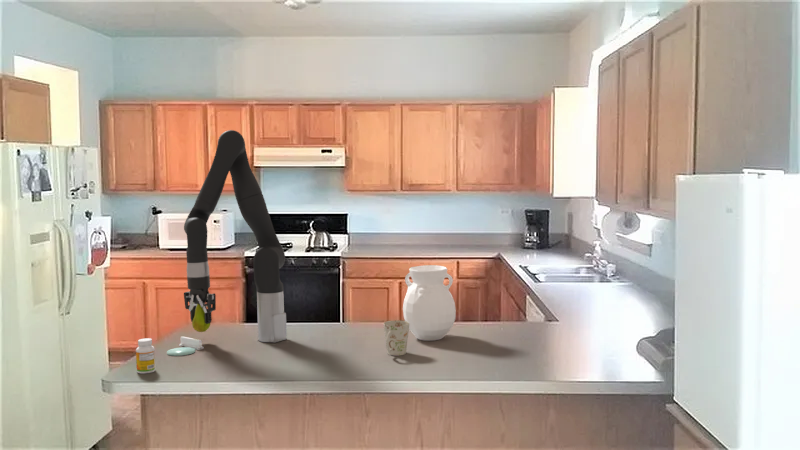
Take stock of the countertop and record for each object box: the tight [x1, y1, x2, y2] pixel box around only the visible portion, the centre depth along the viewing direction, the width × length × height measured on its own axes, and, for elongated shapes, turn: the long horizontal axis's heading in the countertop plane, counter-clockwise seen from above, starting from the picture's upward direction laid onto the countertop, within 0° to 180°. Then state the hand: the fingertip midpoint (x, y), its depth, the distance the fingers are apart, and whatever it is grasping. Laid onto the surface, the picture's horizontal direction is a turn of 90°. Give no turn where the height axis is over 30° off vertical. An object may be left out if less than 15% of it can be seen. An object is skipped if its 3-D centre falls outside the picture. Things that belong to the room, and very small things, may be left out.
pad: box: [166, 346, 196, 357], centre depth 250 cm, size 9×9×1 cm
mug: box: [383, 320, 410, 357], centre depth 243 cm, size 8×13×10 cm, turn 161°
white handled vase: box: [402, 264, 457, 342], centre depth 266 cm, size 19×18×25 cm
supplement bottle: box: [135, 337, 156, 375], centre depth 227 cm, size 5×5×10 cm
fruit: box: [191, 304, 211, 333], centre depth 262 cm, size 6×6×12 cm
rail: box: [178, 335, 205, 351], centre depth 257 cm, size 10×2×3 cm, turn 54°
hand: (201, 322), depth 263 cm, fingers closed on fruit, 6 cm apart
